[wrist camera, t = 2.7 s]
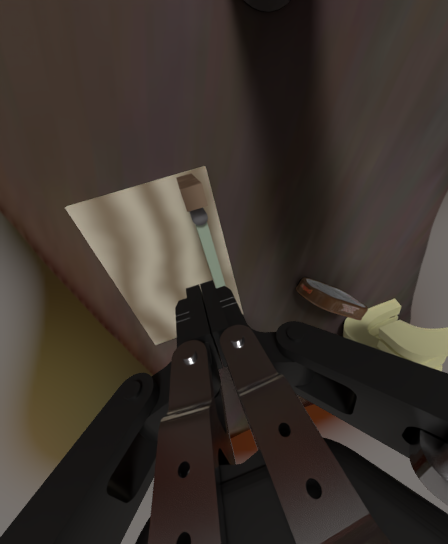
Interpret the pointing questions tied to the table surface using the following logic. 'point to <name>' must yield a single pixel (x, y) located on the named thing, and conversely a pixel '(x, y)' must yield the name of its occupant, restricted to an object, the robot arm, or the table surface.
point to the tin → (331, 299)
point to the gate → (207, 245)
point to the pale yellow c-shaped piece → (398, 335)
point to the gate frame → (155, 244)
